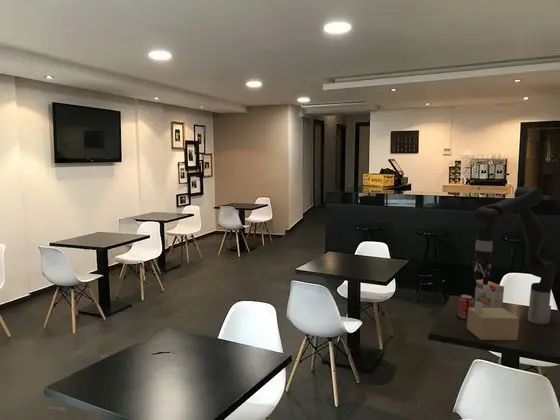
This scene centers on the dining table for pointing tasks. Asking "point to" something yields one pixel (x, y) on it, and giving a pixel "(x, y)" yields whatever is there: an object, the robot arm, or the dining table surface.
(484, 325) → the carton
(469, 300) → the soda can
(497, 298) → the cracker box
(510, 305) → the dining table surface
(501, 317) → the lid flap
